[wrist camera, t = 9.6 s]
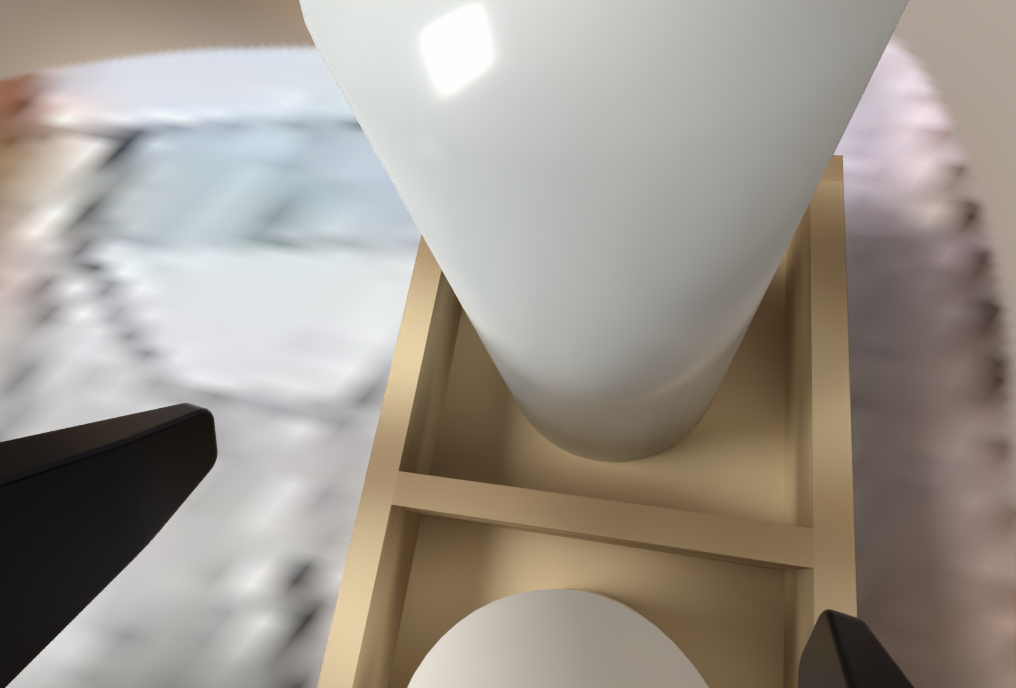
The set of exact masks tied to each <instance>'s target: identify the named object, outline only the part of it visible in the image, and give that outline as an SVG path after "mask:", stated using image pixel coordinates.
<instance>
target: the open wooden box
mask: <svg viewBox="0 0 1016 688" xmlns="http://www.w3.org/2000/svg"><path fill="white" fill-rule="evenodd" d="M550 589H580V590H588V591H592V592H597V593H601V594H604V595H607V596H609V597H612V598H615V599H617V600H620V601H621V602H623V603H625V604H627V605H629V606H631V607H632V608H634V609H636V610H637V611H639V612H640V613H641V614H643V615H644V616H645V617H647V618H648V619H650V620H651V621H652V622H653V623H654V624H655V625H656V626H657V627H658V628H659V629H660V630H662V631H663V632H664V633H665V634H666V635H667V636H668V637H669V638H670V639H671V640H672V642H673V643H674V644H675V645H676V646H677V647H678V648H679V649H680V650H681V651H682V652H683V654H684V655H685V656H686V657H687V658H688V659H689V661H690V662H691V663H692V664H693V665H694V666H695V668H696V669H697V671H698V672H699V674H700V675H701V677H702V678H703V680H704V681H705V683H706V684H707V686H708V687H709V688H798V669H799V663H800V658H801V655H802V652H803V650H804V648H805V646H806V644H807V641H808V639H809V637H810V635H811V633H812V631H813V628H814V626H815V624H816V622H817V620H818V618H819V616H820V614H821V613H822V612H823V611H824V610H827V609H832V610H835V611H838V612H841V613H844V614H847V615H851V616H854V617H857V600H856V568H855V535H854V503H853V471H852V439H851V407H850V375H849V342H848V310H847V278H846V246H845V214H844V182H843V156H840V155H833V156H832V158H831V160H830V162H829V164H828V166H827V168H826V170H825V172H824V174H823V176H822V178H821V181H820V183H819V185H818V187H817V189H816V191H815V193H814V195H813V197H812V199H811V201H810V203H809V205H808V207H807V209H806V211H805V213H804V215H803V217H802V219H801V221H800V223H799V225H798V227H797V229H796V231H795V233H794V235H793V237H792V240H791V242H790V244H789V246H788V248H787V250H786V252H785V254H784V256H783V258H782V260H781V262H780V264H779V266H778V268H777V270H776V272H775V274H774V276H773V278H772V280H771V282H770V284H769V286H768V288H767V290H766V292H765V294H764V297H763V299H762V301H761V303H760V305H759V307H758V309H757V311H756V313H755V315H754V317H753V319H752V321H751V323H750V325H749V327H748V329H747V331H746V333H745V335H744V337H743V339H742V341H741V343H740V345H739V347H738V349H737V351H736V353H735V356H734V358H733V360H732V362H731V364H730V366H729V368H728V370H727V372H726V374H725V376H724V378H723V380H722V382H721V384H720V386H719V388H718V390H717V392H716V394H715V396H714V398H713V400H712V402H711V404H710V406H709V408H708V410H707V411H706V413H705V415H704V416H703V418H702V419H701V420H700V422H699V423H698V424H697V425H696V426H695V428H694V429H693V430H692V431H691V432H690V433H688V434H687V435H686V436H685V437H684V438H683V439H682V440H680V441H679V442H677V443H676V444H674V445H673V446H672V447H670V448H668V449H666V450H664V451H662V452H660V453H658V454H655V455H652V456H649V457H646V458H643V459H638V460H633V461H625V462H601V461H595V460H590V459H585V458H582V457H579V456H576V455H573V454H571V453H569V452H567V451H564V450H562V449H560V448H559V447H557V446H555V445H554V444H552V443H551V442H549V441H548V440H547V439H545V438H544V437H543V436H542V435H541V434H539V433H538V432H537V431H536V430H535V428H534V427H533V426H532V425H531V424H530V423H529V422H528V420H527V419H526V417H525V416H524V414H523V413H522V411H521V410H520V408H519V406H518V404H517V403H516V401H515V399H514V397H513V396H512V394H511V392H510V390H509V388H508V387H507V385H506V383H505V381H504V380H503V378H502V376H501V374H500V373H499V371H498V369H497V367H496V365H495V364H494V362H493V360H492V358H491V357H490V355H489V353H488V351H487V349H486V348H485V346H484V344H483V342H482V341H481V339H480V337H479V335H478V333H477V332H476V330H475V328H474V326H473V325H472V323H471V321H470V319H469V317H468V316H467V314H466V312H465V310H464V309H463V307H462V305H461V303H460V301H459V300H458V298H457V296H456V294H455V293H454V291H453V289H452V287H451V285H450V284H449V282H448V280H447V278H446V277H445V275H444V273H443V271H442V269H441V268H440V266H439V264H438V262H437V261H436V259H435V257H434V255H433V253H432V252H431V250H430V248H429V246H428V245H427V243H426V241H425V239H424V237H423V236H422V235H421V239H420V244H419V248H418V252H417V257H416V261H415V265H414V270H413V274H412V278H411V283H410V287H409V291H408V296H407V300H406V304H405V309H404V313H403V317H402V322H401V326H400V330H399V335H398V339H397V343H396V348H395V352H394V356H393V361H392V365H391V369H390V374H389V378H388V382H387V387H386V391H385V395H384V400H383V404H382V408H381V413H380V417H379V421H378V426H377V430H376V434H375V439H374V443H373V447H372V452H371V456H370V460H369V465H368V469H367V473H366V478H365V482H364V486H363V491H362V495H361V499H360V504H359V508H358V512H357V517H356V521H355V525H354V530H353V534H352V538H351V543H350V547H349V551H348V556H347V560H346V564H345V569H344V573H343V577H342V582H341V586H340V590H339V595H338V599H337V603H336V608H335V612H334V616H333V621H332V625H331V629H330V634H329V638H328V642H327V647H326V651H325V655H324V660H323V664H322V668H321V673H320V677H319V681H318V686H317V688H407V687H408V685H409V683H410V681H411V679H412V677H413V675H414V673H415V672H416V670H417V669H418V667H419V666H420V664H421V663H422V661H423V660H424V658H425V657H426V655H427V654H428V653H429V651H430V650H431V649H432V648H433V647H434V646H435V644H436V643H437V642H438V641H439V640H440V639H441V637H443V636H444V635H445V634H446V633H447V632H448V631H449V630H450V629H451V628H453V627H454V626H455V625H456V624H457V623H458V622H460V621H461V620H462V619H464V618H465V617H467V616H468V615H470V614H471V613H473V612H474V611H476V610H478V609H480V608H482V607H484V606H486V605H488V604H489V603H491V602H493V601H496V600H499V599H502V598H505V597H508V596H511V595H514V594H518V593H524V592H529V591H535V590H550Z"/></svg>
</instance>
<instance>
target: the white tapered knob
mask: <svg viewBox="0 0 1016 688" xmlns="http://www.w3.org/2000/svg"><path fill="white" fill-rule="evenodd" d="M299 1H300V5H301V9H302V13H303V17H304V20H305V24H306V26H307V28H308V30H309V32H310V34H311V37H312V39H313V41H314V43H315V45H316V47H317V49H318V51H319V53H320V55H321V56H322V58H323V60H324V62H325V63H326V65H327V67H328V69H329V71H330V72H331V74H332V76H333V78H334V79H335V81H336V83H337V85H338V87H339V88H340V90H341V92H342V94H343V95H344V97H345V99H346V101H347V102H348V104H349V106H350V108H351V110H352V111H353V113H354V115H355V117H356V118H357V120H358V122H359V124H360V126H361V127H362V129H363V131H364V133H365V134H366V136H367V138H368V140H369V142H370V143H371V145H372V147H373V149H374V150H375V152H376V154H377V156H378V158H379V159H380V161H381V163H382V165H383V166H384V168H385V170H386V172H387V174H388V175H389V177H390V179H391V181H392V182H393V184H394V186H395V188H396V190H397V191H398V193H399V195H400V197H401V198H402V200H403V202H404V204H405V206H406V207H407V209H408V211H409V213H410V214H411V216H412V218H413V220H414V222H415V223H416V225H417V227H418V229H419V230H420V232H421V234H422V236H423V237H424V239H425V241H426V243H427V245H428V246H429V248H430V250H431V252H432V253H433V255H434V257H435V259H436V261H437V262H438V264H439V266H440V268H441V269H442V271H443V273H444V275H445V277H446V278H447V280H448V282H449V284H450V285H451V287H452V289H453V291H454V293H455V294H456V296H457V298H458V300H459V301H460V303H461V305H462V307H463V309H464V310H465V312H466V314H467V316H468V317H469V319H470V321H471V323H472V325H473V326H474V328H475V330H476V332H477V333H478V335H479V337H480V339H481V341H482V342H483V344H484V346H485V348H486V349H487V351H488V353H489V355H490V357H491V358H492V360H493V362H494V364H495V365H496V367H497V369H498V371H499V373H500V374H501V376H502V378H503V380H504V381H505V383H506V385H507V387H508V388H509V390H510V392H511V394H512V396H513V397H514V399H515V401H516V403H517V404H518V406H519V408H520V410H521V411H522V413H523V414H524V416H525V417H526V419H527V420H528V422H529V423H530V424H531V425H532V426H533V427H534V428H535V430H536V431H537V432H538V433H539V434H541V435H542V436H543V437H544V438H545V439H547V440H548V441H549V442H551V443H552V444H554V445H555V446H557V447H559V448H560V449H562V450H564V451H567V452H569V453H571V454H573V455H576V456H579V457H582V458H585V459H590V460H595V461H601V462H625V461H633V460H638V459H643V458H646V457H649V456H652V455H655V454H658V453H660V452H662V451H664V450H666V449H668V448H670V447H672V446H673V445H674V444H676V443H677V442H679V441H680V440H682V439H683V438H684V437H685V436H686V435H687V434H688V433H690V432H691V431H692V430H693V429H694V428H695V426H696V425H697V424H698V423H699V422H700V420H701V419H702V418H703V416H704V415H705V413H706V411H707V410H708V408H709V406H710V404H711V402H712V400H713V398H714V396H715V394H716V392H717V390H718V388H719V386H720V384H721V382H722V380H723V378H724V376H725V374H726V372H727V370H728V368H729V366H730V364H731V362H732V360H733V358H734V356H735V353H736V351H737V349H738V347H739V345H740V343H741V341H742V339H743V337H744V335H745V333H746V331H747V329H748V327H749V325H750V323H751V321H752V319H753V317H754V315H755V313H756V311H757V309H758V307H759V305H760V303H761V301H762V299H763V297H764V294H765V292H766V290H767V288H768V286H769V284H770V282H771V280H772V278H773V276H774V274H775V272H776V270H777V268H778V266H779V264H780V262H781V260H782V258H783V256H784V254H785V252H786V250H787V248H788V246H789V244H790V242H791V240H792V237H793V235H794V233H795V231H796V229H797V227H798V225H799V223H800V221H801V219H802V217H803V215H804V213H805V211H806V209H807V207H808V205H809V203H810V201H811V199H812V197H813V195H814V193H815V191H816V189H817V187H818V185H819V183H820V181H821V178H822V176H823V174H824V172H825V170H826V168H827V166H828V164H829V162H830V160H831V158H832V156H833V154H834V152H835V150H836V148H837V146H838V144H839V142H840V140H841V138H842V136H843V134H844V132H845V130H846V128H847V126H848V124H849V121H850V119H851V117H852V115H853V113H854V111H855V109H856V107H857V105H858V103H859V101H860V99H861V97H862V95H863V93H864V91H865V89H866V87H867V85H868V83H869V81H870V79H871V77H872V75H873V73H874V71H875V69H876V67H877V65H878V62H879V60H880V58H881V56H882V54H883V52H884V50H885V48H886V46H887V44H888V42H889V40H890V38H891V36H892V34H893V32H894V30H895V28H896V26H897V24H898V22H899V20H900V18H901V16H902V14H903V12H904V10H905V7H906V5H907V3H908V1H909V0H299Z"/></svg>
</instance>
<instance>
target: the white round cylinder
mask: <svg viewBox="0 0 1016 688" xmlns="http://www.w3.org/2000/svg"><path fill="white" fill-rule="evenodd" d="M407 688H709V687H708V686H707V684H706V683H705V681H704V680H703V678H702V677H701V675H700V674H699V672H698V671H697V669H696V668H695V666H694V665H693V664H692V663H691V662H690V661H689V659H688V658H687V657H686V656H685V655H684V654H683V652H682V651H681V650H680V649H679V648H678V647H677V646H676V645H675V644H674V643H673V642H672V640H671V639H670V638H669V637H668V636H667V635H666V634H665V633H664V632H663V631H662V630H660V629H659V628H658V627H657V626H656V625H655V624H654V623H653V622H652V621H651V620H650V619H648V618H647V617H645V616H644V615H643V614H641V613H640V612H639V611H637V610H636V609H634V608H632V607H631V606H629V605H627V604H625V603H623V602H621V601H620V600H617V599H615V598H612V597H609V596H607V595H604V594H601V593H597V592H592V591H588V590H580V589H550V590H535V591H529V592H524V593H518V594H514V595H511V596H508V597H505V598H502V599H499V600H496V601H493V602H491V603H489V604H488V605H486V606H484V607H482V608H480V609H478V610H476V611H474V612H473V613H471V614H470V615H468V616H467V617H465V618H464V619H462V620H461V621H460V622H458V623H457V624H456V625H455V626H454V627H453V628H451V629H450V630H449V631H448V632H447V633H446V634H445V635H444V636H443V637H441V639H440V640H439V641H438V642H437V643H436V644H435V646H434V647H433V648H432V649H431V650H430V651H429V653H428V654H427V655H426V657H425V658H424V660H423V661H422V663H421V664H420V666H419V667H418V669H417V670H416V672H415V673H414V675H413V677H412V679H411V681H410V683H409V685H408V687H407Z"/></svg>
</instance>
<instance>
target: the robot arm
mask: <svg viewBox="0 0 1016 688" xmlns="http://www.w3.org/2000/svg"><path fill="white" fill-rule="evenodd" d="M216 459H217V442H216V433H215V423H214V417H213V415H212V413H211V411H209V410H208V409H206V408H203V407H200V406H196V405H193V404H189V403H182V404H177V405H173V406H168V407H163V408H159V409H154V410H149V411H145V412H140V413H135V414H131V415H126V416H121V417H117V418H112V419H107V420H102V421H98V422H93V423H88V424H84V425H79V426H74V427H70V428H65V429H60V430H56V431H51V432H46V433H42V434H37V435H32V436H28V437H23V438H18V439H14V440H9V441H4V442H0V688H5V687H6V686H7V685H8V684H9V683H10V682H11V681H12V680H13V679H14V678H15V677H16V676H17V675H18V674H19V673H20V672H21V671H22V670H23V669H24V668H25V667H26V666H27V665H28V664H29V663H30V662H31V661H32V660H33V659H34V658H35V657H36V656H37V655H38V654H39V653H40V652H41V651H42V650H43V649H44V648H45V647H46V646H47V645H48V644H49V643H50V642H51V641H52V640H53V639H54V638H55V637H56V636H57V635H58V634H59V633H60V632H61V631H62V630H63V629H64V628H65V627H66V626H67V625H68V624H69V623H70V622H71V621H72V620H73V619H74V618H75V617H76V616H77V615H78V614H79V613H80V612H81V611H82V610H83V609H84V608H85V607H86V606H87V605H88V604H89V603H90V602H91V601H92V600H93V599H94V598H95V597H96V596H97V595H98V594H99V593H100V592H101V591H102V590H103V589H104V588H105V587H106V586H107V585H108V584H109V583H110V582H111V581H112V580H113V579H114V578H115V577H116V576H117V575H118V574H119V573H120V572H121V571H122V570H123V569H124V568H125V567H126V566H127V565H128V564H129V563H130V562H131V561H132V560H133V559H134V558H135V557H136V556H137V555H138V554H139V553H140V552H141V551H142V550H143V549H144V548H145V547H146V546H147V545H148V544H149V543H150V541H151V540H152V539H153V538H154V537H155V536H156V535H157V533H158V532H159V531H160V530H161V529H162V528H163V526H164V525H165V524H166V523H167V522H168V520H169V519H170V518H171V517H172V516H173V514H174V513H175V512H176V511H177V510H178V508H179V507H180V506H181V505H182V504H183V502H184V501H185V500H186V499H187V498H188V496H189V495H190V494H191V493H192V492H193V491H194V489H195V488H196V487H197V486H198V485H199V483H200V482H201V481H202V480H203V479H204V477H205V476H206V475H207V474H208V473H209V471H210V470H211V469H212V467H213V466H214V464H215V462H216ZM798 688H914V686H913V685H912V684H911V682H910V681H909V680H908V678H907V677H906V676H905V674H904V673H903V672H902V671H901V669H900V668H899V667H898V665H897V664H896V663H895V661H894V660H893V659H892V657H891V656H890V655H889V653H888V652H887V651H886V650H885V648H884V647H883V646H882V644H881V643H880V642H879V640H878V639H877V638H876V636H875V635H874V634H873V632H872V631H871V630H870V629H869V627H868V626H867V625H866V624H865V623H864V622H863V621H862V620H861V619H859V618H857V617H854V616H851V615H847V614H844V613H841V612H838V611H835V610H832V609H827V610H824V611H823V612H822V613H821V614H820V616H819V618H818V620H817V622H816V624H815V626H814V628H813V631H812V633H811V635H810V637H809V639H808V641H807V644H806V646H805V648H804V650H803V652H802V655H801V658H800V663H799V669H798Z"/></svg>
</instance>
